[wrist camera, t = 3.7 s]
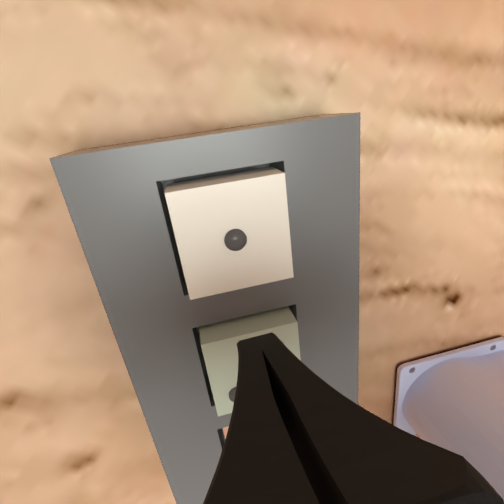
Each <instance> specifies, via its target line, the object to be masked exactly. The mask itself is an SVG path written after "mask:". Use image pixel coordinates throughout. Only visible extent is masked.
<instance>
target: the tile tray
mask: <svg viewBox="0 0 504 504" xmlns="http://www.w3.org/2000/svg"><path fill="white" fill-rule="evenodd" d="M49 159H50V161H51V164H52V167H53V169H54V172H55V175H56V178H57V180H58V183H59V186H60V188H61V191H62V194H63V197H64V199H65V202H66V205H67V207H68V210H69V213H70V216H71V218H72V221H73V224H74V226H75V229H76V232H77V235H78V237H79V240H80V243H81V245H82V248H83V251H84V254H85V256H86V259H87V262H88V264H89V267H90V270H91V273H92V275H93V278H94V281H95V283H96V286H97V289H98V292H99V294H100V297H101V300H102V302H103V305H104V308H105V311H106V313H107V316H108V319H109V321H110V324H111V327H112V330H113V332H114V335H115V338H116V340H117V343H118V346H119V349H120V351H121V354H122V357H123V359H124V362H125V365H126V368H127V370H128V373H129V376H130V378H131V381H132V384H133V387H134V389H135V392H136V395H137V397H138V400H139V403H140V406H141V408H142V411H143V414H144V416H145V419H146V422H147V424H148V427H149V430H150V433H151V435H152V438H153V441H154V443H155V446H156V449H157V452H158V454H159V457H160V460H161V462H162V465H163V468H164V471H165V473H166V476H167V479H168V481H169V484H170V487H171V490H172V492H173V495H174V498H175V500H176V503H177V504H203V502H204V500H205V497H206V494H207V492H208V489H209V487H210V484H211V481H212V479H213V476H214V474H215V471H216V468H217V465H218V462H219V459H220V456H221V452H222V449H223V446H224V443H225V436H224V432H223V428H224V427H228V426H229V424H230V420H231V415H232V413H229V414H226V415H222V416H219V417H218V415H217V411H216V406H215V402H214V398H213V394H212V390H211V385H210V381H209V377H208V373H207V369H206V365H205V360H204V356H203V352H202V348H201V342H200V332H199V327H200V326H204V325H208V324H213V323H217V322H221V321H226V320H230V319H234V318H238V317H243V316H247V315H251V314H256V313H260V312H264V311H269V310H273V309H277V308H282V307H286V306H288V307H289V308H290V310H291V312H292V314H293V315H294V317H295V319H296V320H297V322H298V334H299V346H300V358H301V361H302V362H303V363H304V364H305V365H306V366H307V367H308V368H309V369H310V370H312V371H313V372H314V373H315V374H316V375H317V376H319V377H320V378H321V379H322V380H324V381H325V382H326V383H328V384H329V385H330V386H331V387H333V388H334V389H335V390H337V391H338V392H340V393H341V394H342V395H344V396H345V397H347V398H348V399H350V400H351V401H353V402H354V403H356V404H357V405H358V340H359V215H360V113H341V114H323V115H316V116H309V117H302V118H295V119H288V120H281V121H275V122H268V123H261V124H254V125H247V126H240V127H233V128H226V129H220V130H213V131H206V132H199V133H192V134H185V135H178V136H171V137H165V138H158V139H151V140H144V141H137V142H130V143H123V144H116V145H109V146H103V147H96V148H89V149H82V150H76V151H73V152H69V153H66V154H63V155H59V156H56V157H53V158H49ZM268 167H274V168H276V169H278V170H280V171H282V172H284V173H285V181H286V192H287V204H288V216H289V228H290V240H291V252H292V263H293V275H294V277H293V278H288V279H284V280H279V281H275V282H270V283H266V284H261V285H256V286H252V287H247V288H243V289H238V290H234V291H229V292H225V293H220V294H215V295H211V296H206V297H202V298H197V299H193V300H190V298H189V293H188V289H187V285H186V281H185V277H184V273H183V268H182V264H181V260H180V256H179V252H178V247H177V243H176V239H175V235H174V231H173V227H172V222H171V218H170V214H169V210H168V206H167V201H166V197H165V188H166V184H171V183H177V182H183V181H189V180H195V179H201V178H207V177H213V176H219V175H225V174H231V173H238V172H244V171H250V170H256V169H262V168H268Z"/></svg>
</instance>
